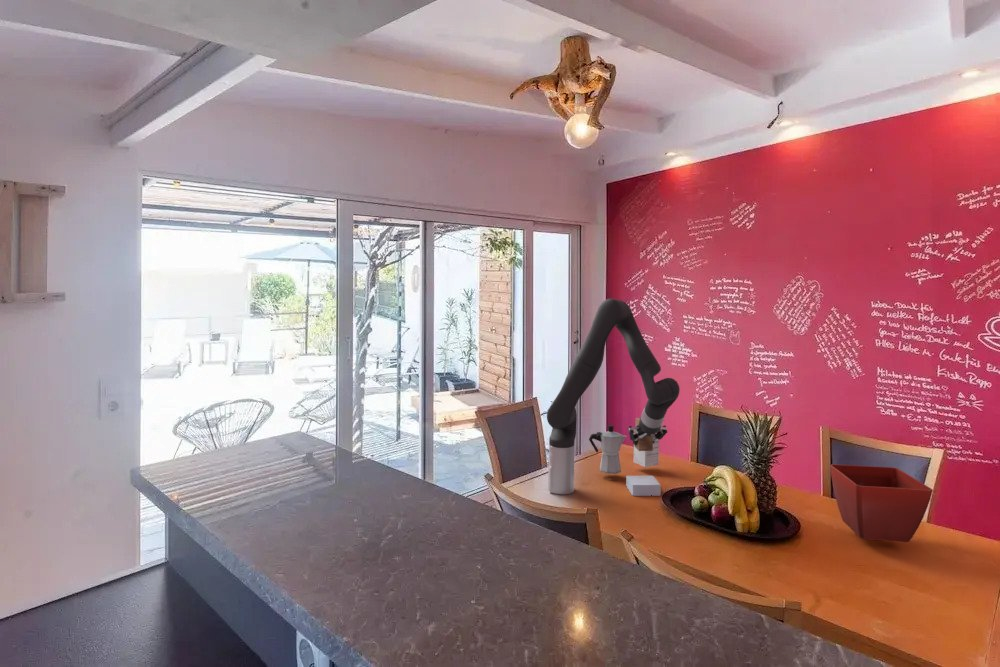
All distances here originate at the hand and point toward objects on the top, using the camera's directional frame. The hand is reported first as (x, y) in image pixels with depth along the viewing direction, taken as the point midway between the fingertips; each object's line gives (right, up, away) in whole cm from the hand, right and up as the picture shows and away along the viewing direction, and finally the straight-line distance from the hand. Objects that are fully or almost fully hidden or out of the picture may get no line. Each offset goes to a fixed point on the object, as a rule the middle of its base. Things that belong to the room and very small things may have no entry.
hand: (642, 442), depth 202 cm
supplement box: (+7, -13, +22) cm, 26 cm away
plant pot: (+57, -18, -42) cm, 73 cm away
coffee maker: (-10, -14, +14) cm, 22 cm away
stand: (0, -18, 0) cm, 18 cm away
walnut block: (0, -2, -2) cm, 3 cm away
